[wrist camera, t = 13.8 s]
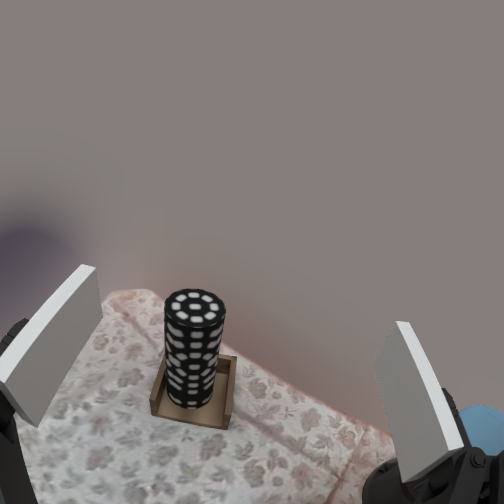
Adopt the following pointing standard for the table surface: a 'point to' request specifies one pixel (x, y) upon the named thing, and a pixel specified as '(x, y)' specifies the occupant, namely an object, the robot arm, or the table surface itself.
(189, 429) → the table surface
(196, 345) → the white-spotted black cylinder
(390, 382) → the robot arm
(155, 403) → the tray
